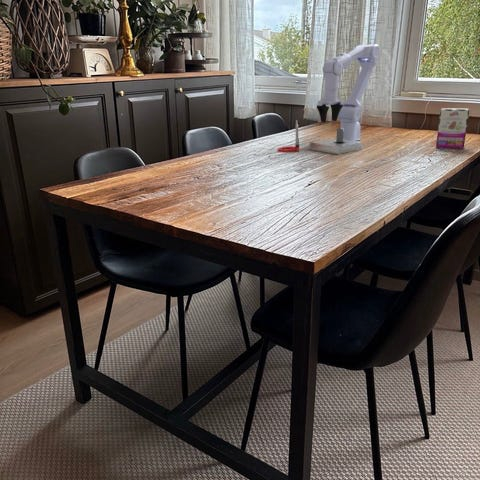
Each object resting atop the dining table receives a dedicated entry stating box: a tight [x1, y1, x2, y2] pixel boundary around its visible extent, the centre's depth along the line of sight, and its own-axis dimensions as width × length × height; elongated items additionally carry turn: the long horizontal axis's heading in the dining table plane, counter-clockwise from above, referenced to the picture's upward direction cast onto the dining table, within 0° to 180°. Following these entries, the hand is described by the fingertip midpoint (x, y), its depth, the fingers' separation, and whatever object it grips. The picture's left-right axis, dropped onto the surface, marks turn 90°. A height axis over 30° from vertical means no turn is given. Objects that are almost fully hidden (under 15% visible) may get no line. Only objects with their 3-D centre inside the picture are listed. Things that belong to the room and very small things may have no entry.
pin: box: [335, 127, 344, 144], centre depth 201 cm, size 3×3×9 cm
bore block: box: [309, 137, 363, 155], centre depth 203 cm, size 16×16×3 cm
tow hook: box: [277, 119, 300, 153], centre depth 201 cm, size 8×13×9 cm
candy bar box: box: [435, 107, 470, 150], centre depth 199 cm, size 11×5×16 cm, turn 68°
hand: (328, 121), depth 209 cm, fingers open, 7 cm apart
